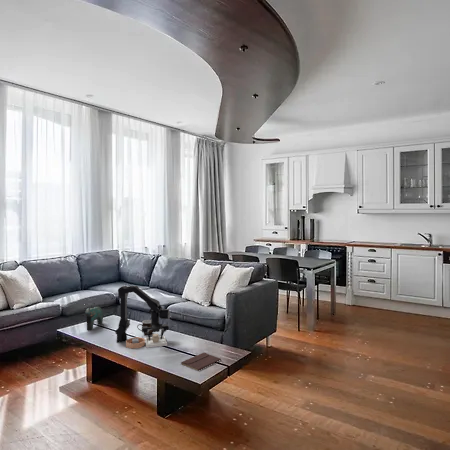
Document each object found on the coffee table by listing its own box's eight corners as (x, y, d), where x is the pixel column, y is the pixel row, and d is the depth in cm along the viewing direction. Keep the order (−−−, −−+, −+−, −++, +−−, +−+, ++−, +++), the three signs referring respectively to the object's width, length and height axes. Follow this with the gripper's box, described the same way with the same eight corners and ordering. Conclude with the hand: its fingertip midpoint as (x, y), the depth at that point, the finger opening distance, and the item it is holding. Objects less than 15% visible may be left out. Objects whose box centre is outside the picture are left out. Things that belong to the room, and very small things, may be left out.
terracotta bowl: (126, 349, 246) (126, 344, 245) (126, 343, 258) (126, 338, 258) (145, 347, 249) (145, 342, 249) (144, 341, 261) (144, 336, 261)
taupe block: (152, 342, 257) (152, 336, 257) (152, 340, 262) (152, 334, 262) (158, 341, 258) (158, 335, 258) (158, 339, 263) (157, 333, 263)
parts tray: (146, 348, 248) (146, 345, 248) (145, 340, 262) (145, 337, 262) (167, 346, 252) (166, 343, 252) (164, 338, 266) (164, 335, 266)
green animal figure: (90, 331, 285) (90, 305, 284) (83, 330, 286) (82, 305, 285) (104, 323, 304) (104, 299, 303) (97, 322, 305) (97, 299, 305)
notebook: (220, 361, 227) (220, 358, 227) (198, 372, 212) (198, 368, 212) (203, 355, 237) (203, 352, 237) (181, 364, 222) (181, 361, 222)
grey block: (132, 347, 248) (132, 341, 248) (132, 345, 253) (132, 338, 252) (138, 346, 249) (138, 340, 249) (138, 344, 254) (138, 338, 254)
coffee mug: (155, 332, 279) (155, 320, 279) (152, 336, 270) (151, 323, 270) (140, 332, 280) (140, 319, 280) (136, 336, 272) (136, 323, 271)
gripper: (142, 323, 249) (142, 345, 250) (169, 320, 254) (169, 342, 255) (141, 318, 260) (141, 340, 261) (167, 316, 265) (168, 337, 266)
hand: (155, 340), depth 260 cm, fingers open, 8 cm apart
